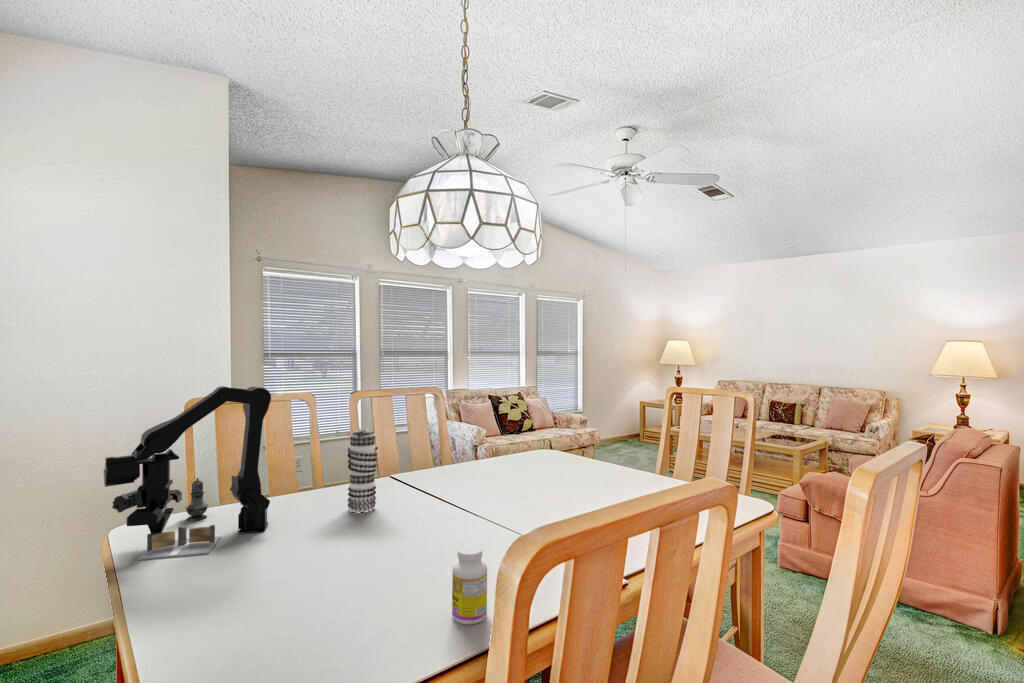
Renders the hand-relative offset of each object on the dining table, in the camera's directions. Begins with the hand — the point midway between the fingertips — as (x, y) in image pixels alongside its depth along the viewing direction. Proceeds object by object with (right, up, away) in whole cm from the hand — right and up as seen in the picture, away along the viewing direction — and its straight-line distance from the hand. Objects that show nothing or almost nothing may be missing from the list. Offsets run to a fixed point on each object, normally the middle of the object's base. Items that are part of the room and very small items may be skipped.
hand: (156, 540), depth 130 cm
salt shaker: (-4, -3, +23) cm, 24 cm away
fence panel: (+2, -1, -1) cm, 3 cm away
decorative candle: (+42, -3, +33) cm, 54 cm away
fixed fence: (+8, -2, +3) cm, 9 cm away
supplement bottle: (+81, -3, -31) cm, 87 cm away
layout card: (+6, -2, +1) cm, 6 cm away
